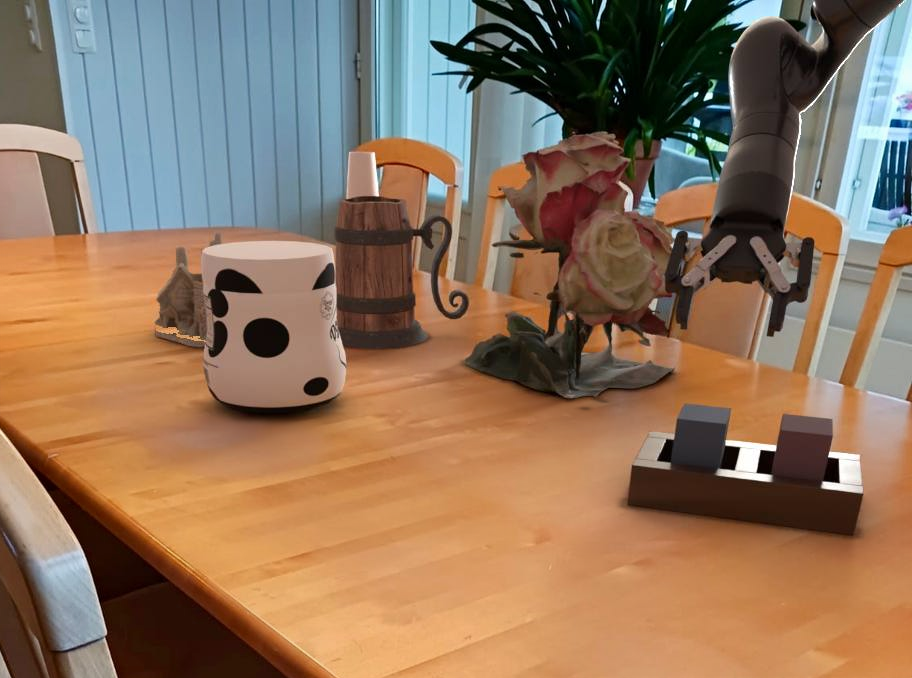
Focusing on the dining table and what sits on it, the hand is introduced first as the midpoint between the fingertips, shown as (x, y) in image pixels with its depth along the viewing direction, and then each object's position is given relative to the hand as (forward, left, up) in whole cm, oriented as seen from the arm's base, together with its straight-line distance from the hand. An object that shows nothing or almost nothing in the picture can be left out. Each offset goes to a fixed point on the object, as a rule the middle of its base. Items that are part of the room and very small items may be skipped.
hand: (727, 328), depth 98 cm
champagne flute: (+100, -40, -14) cm, 109 cm away
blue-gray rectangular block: (-4, +10, -14) cm, 17 cm away
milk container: (+48, +21, -14) cm, 55 cm away
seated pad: (-13, +6, -14) cm, 20 cm away
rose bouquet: (+32, -20, -14) cm, 41 cm away
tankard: (+66, -16, -14) cm, 70 cm away
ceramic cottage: (+86, +7, -14) cm, 88 cm away
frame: (-9, +8, -14) cm, 18 cm away
